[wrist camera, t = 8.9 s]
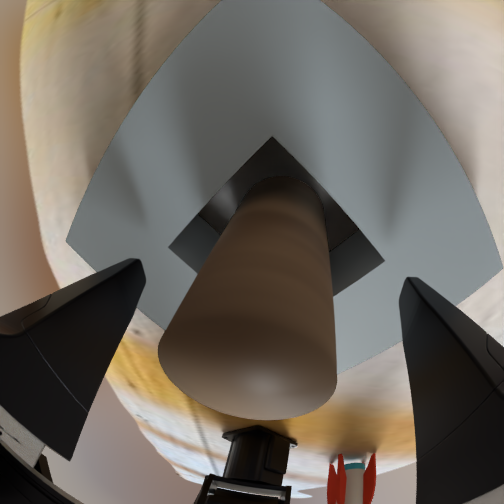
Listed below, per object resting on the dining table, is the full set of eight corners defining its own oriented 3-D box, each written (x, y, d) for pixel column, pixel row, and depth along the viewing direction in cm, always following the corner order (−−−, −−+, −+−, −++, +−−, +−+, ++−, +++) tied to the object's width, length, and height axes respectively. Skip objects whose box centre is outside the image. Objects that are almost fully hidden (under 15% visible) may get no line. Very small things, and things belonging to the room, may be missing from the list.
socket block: (277, 359, 19) (270, 401, 16) (102, 213, 15) (65, 240, 12) (472, 233, 11) (503, 267, 8) (276, -3, 8) (264, -36, 5)
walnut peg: (281, 266, 15) (249, 429, 7) (224, 214, 14) (132, 358, 6) (341, 220, 13) (371, 388, 5) (282, 158, 12) (233, 275, 4)
